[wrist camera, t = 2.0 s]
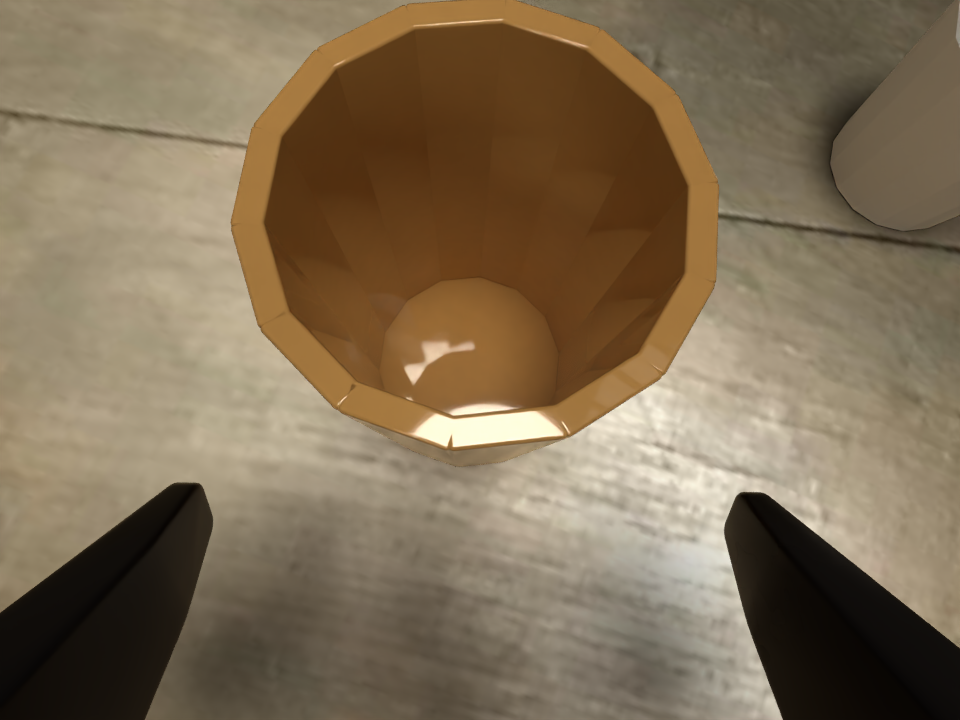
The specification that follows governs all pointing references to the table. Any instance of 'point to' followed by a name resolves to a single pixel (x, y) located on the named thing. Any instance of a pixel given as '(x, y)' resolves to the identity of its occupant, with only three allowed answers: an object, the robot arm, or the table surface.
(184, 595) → the robot arm
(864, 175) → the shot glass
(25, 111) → the table surface
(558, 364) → the hollow tan tube
